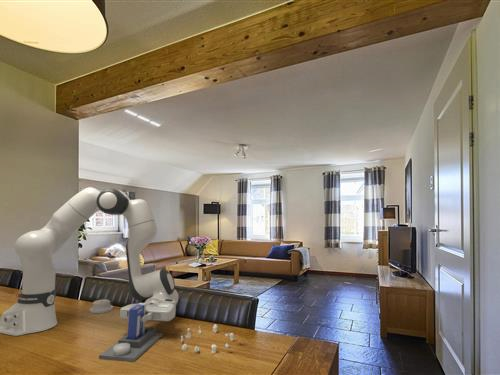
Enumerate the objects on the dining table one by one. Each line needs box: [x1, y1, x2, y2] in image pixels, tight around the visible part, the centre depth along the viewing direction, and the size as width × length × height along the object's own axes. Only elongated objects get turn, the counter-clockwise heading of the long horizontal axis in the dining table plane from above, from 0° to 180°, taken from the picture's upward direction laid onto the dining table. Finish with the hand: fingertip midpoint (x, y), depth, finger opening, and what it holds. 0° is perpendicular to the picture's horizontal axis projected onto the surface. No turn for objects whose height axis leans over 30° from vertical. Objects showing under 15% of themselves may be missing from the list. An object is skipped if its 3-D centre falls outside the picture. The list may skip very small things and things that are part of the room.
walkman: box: [127, 302, 146, 340], centre depth 109 cm, size 8×3×12 cm, turn 174°
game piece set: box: [180, 324, 235, 354], centre depth 110 cm, size 19×20×4 cm
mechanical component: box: [89, 299, 114, 314], centre depth 145 cm, size 10×4×10 cm
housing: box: [98, 327, 163, 362], centre depth 105 cm, size 12×20×3 cm, turn 171°
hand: (137, 319), depth 108 cm, fingers closed on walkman, 2 cm apart
